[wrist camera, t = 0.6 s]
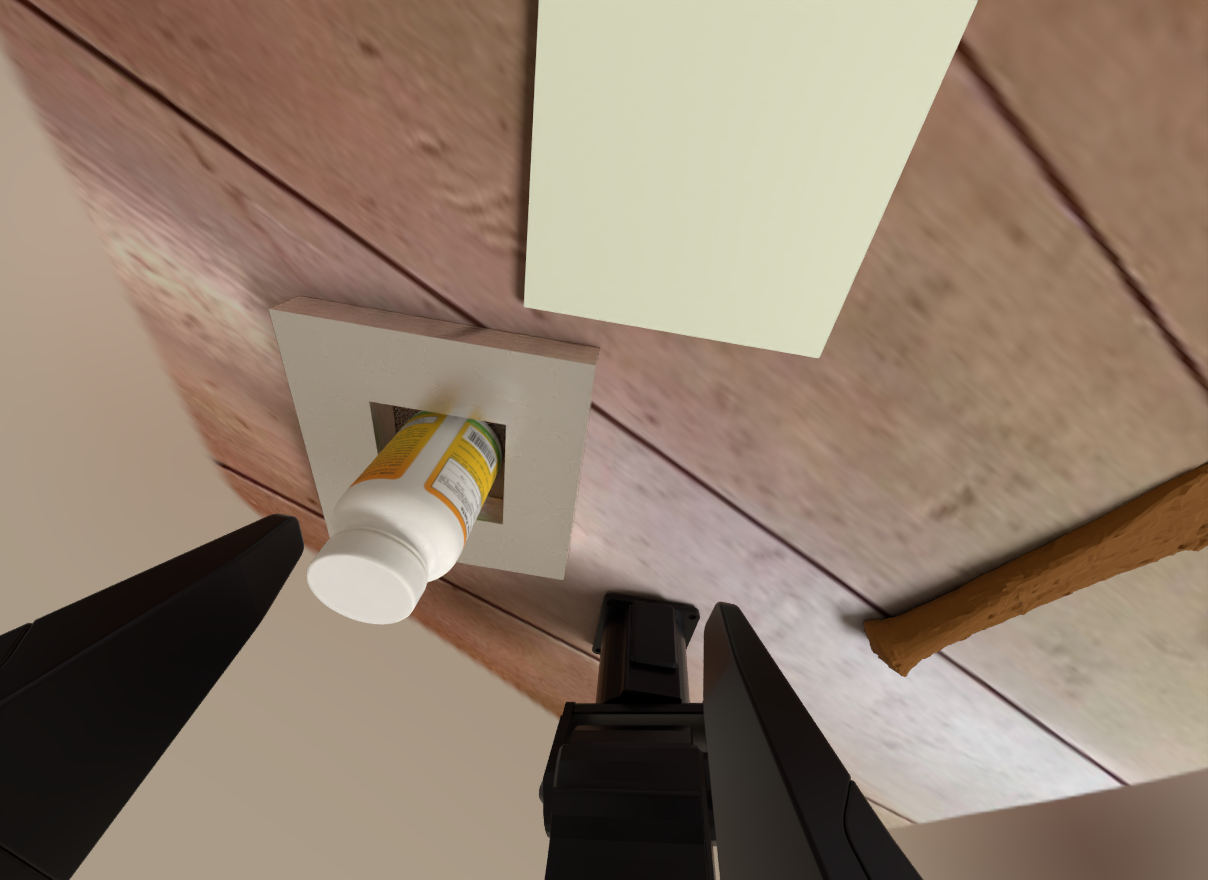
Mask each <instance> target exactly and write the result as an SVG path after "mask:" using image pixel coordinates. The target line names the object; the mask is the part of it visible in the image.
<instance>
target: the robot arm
mask: <svg viewBox="0 0 1208 880" xmlns="http://www.w3.org/2000/svg"><path fill="white" fill-rule="evenodd" d="M303 549H304V541H303V537H302V533H301V529H300V525H299V521H298V519H297V518H296V517H293V516H289V515H284V514H272V515H269V516H267V517H265V518H262V519H260V520H258V521H256V522H254V523H251V524H249V525H247V526H245V527H242V528H240V529H238V530H236V531H234V532H231V533H229V534H227V535H224V536H222V537H220V538H218V539H215V540H213V541H211V542H209V543H206V544H204V545H202V546H200V547H198V548H195V549H193V550H191V551H189V552H186V553H184V554H182V555H180V556H177V557H175V558H173V559H171V560H168V561H166V562H164V563H162V564H159V565H157V566H155V567H153V568H150V569H148V570H146V571H144V572H142V573H139V574H137V575H135V576H133V577H130V578H128V579H126V580H124V581H121V582H119V583H117V584H115V585H112V586H110V587H108V588H106V589H103V590H101V591H99V592H97V593H94V594H92V595H90V596H88V597H85V598H83V599H81V600H79V601H77V602H74V603H72V604H70V605H68V606H65V607H63V608H61V609H59V610H56V611H54V612H52V613H50V614H47V615H45V616H43V617H41V618H38V619H36V620H35V621H34V622H33V623H27V624H25V625H22V626H20V627H18V628H16V629H14V630H11V631H9V632H7V633H5V634H2V635H0V880H70V878H71V877H72V876H73V874H74V873H75V872H76V870H77V869H78V868H79V866H80V865H81V864H82V862H83V861H84V860H85V858H86V857H87V856H88V854H89V853H90V851H91V850H92V849H93V847H94V846H95V845H96V843H97V842H98V841H99V839H100V838H101V837H102V835H103V834H104V833H105V831H106V830H107V829H108V827H109V826H110V825H111V823H112V822H113V821H114V819H115V818H116V817H117V815H118V814H119V812H120V811H121V810H122V808H123V807H124V806H125V804H126V803H127V802H128V800H129V799H130V798H131V796H132V795H133V794H134V792H135V791H136V790H137V788H138V787H139V786H140V784H141V783H142V782H143V780H144V779H145V778H146V776H147V775H148V774H149V772H150V771H151V770H152V768H153V767H154V766H155V764H156V763H157V761H158V760H159V759H160V757H161V756H162V755H163V753H164V752H165V751H166V749H167V748H168V747H169V745H170V744H171V743H172V741H173V740H174V739H175V737H176V736H177V735H178V733H179V732H180V731H181V729H182V728H183V726H184V725H185V724H186V723H187V721H188V720H189V719H190V717H191V716H192V714H193V713H194V712H195V710H196V709H197V708H198V706H199V705H200V704H201V702H202V701H203V700H204V698H205V697H206V696H207V694H208V693H209V692H210V690H211V689H212V688H213V686H214V685H215V684H216V682H217V681H218V679H219V678H220V677H221V676H222V674H223V673H224V671H225V670H226V669H227V667H228V666H229V665H230V663H231V662H232V661H233V659H234V658H235V657H236V655H237V654H238V653H239V651H240V650H241V649H242V647H243V646H244V645H245V643H246V642H247V641H248V639H249V638H250V637H251V635H252V634H253V632H254V631H255V630H256V628H257V627H258V625H259V624H260V623H261V621H262V620H263V618H264V616H265V615H266V613H267V612H268V610H269V609H270V607H271V605H272V604H273V602H274V600H275V599H276V597H277V595H278V594H279V592H280V590H281V589H282V587H283V585H284V583H285V582H286V580H287V579H288V577H289V575H290V574H291V572H292V570H293V569H294V567H295V565H296V564H297V562H298V560H299V559H300V557H301V555H302V553H303ZM699 619H700V613H699V610H698V609H697V608H694V607H688V606H682V605H676V604H671V603H665V602H659V601H653V600H647V599H641V598H635V597H629V596H623V595H617V594H606V595H605V596H604V598H603V602H602V607H601V611H600V615H599V620H598V624H597V628H596V633H595V637H594V641H593V647H592V651H593V652H594V653H595V654H599V655H600V665H599V675H598V685H597V696H596V703H575V702H566V704H565V707H564V711H563V715H561V717H560V720H559V724H558V727H557V731H556V734H555V738H554V742H553V745H552V749H551V752H550V756H549V760H548V763H547V766H546V770H545V773H544V777H543V781H542V783H541V786H540V789H539V798H540V800H541V802H542V803H543V816H544V826H545V830H546V834H547V836H548V837H549V838H550V843H549V851H548V859H547V866H546V874H545V880H716V875H715V865H714V854H713V846H717V851H718V862H719V870H720V871H719V872H720V880H923V879H922V877H921V876H920V874H919V873H918V872H917V870H916V869H915V868H914V866H913V865H912V864H911V862H910V861H909V860H908V858H907V857H906V855H905V854H904V853H903V851H902V850H901V849H900V847H899V846H898V845H897V844H896V842H895V841H894V839H893V838H892V836H891V835H890V833H889V832H888V830H887V829H886V828H885V826H884V825H883V823H882V822H881V820H880V819H879V817H878V816H877V814H876V813H875V812H874V810H873V809H872V807H871V806H870V804H869V803H868V801H867V800H866V798H865V797H864V795H863V794H862V792H861V791H860V789H859V788H858V786H857V785H856V783H855V782H854V781H853V780H851V776H850V774H849V773H848V771H847V770H846V768H845V767H844V765H843V764H842V762H841V761H840V759H839V758H838V756H837V755H836V753H835V752H834V750H833V749H832V747H831V746H830V744H829V743H828V741H827V740H826V738H825V737H824V735H823V734H822V732H821V731H820V729H819V728H818V726H817V725H816V723H815V722H814V720H813V719H812V717H811V716H810V714H809V713H808V711H807V710H806V708H805V706H804V705H803V703H802V702H801V700H800V699H799V697H798V696H797V694H796V693H795V691H794V690H793V688H792V687H791V685H790V684H789V682H788V681H787V679H786V678H785V676H784V675H783V673H782V672H781V670H780V669H779V667H778V666H777V664H776V663H775V661H774V660H773V658H772V657H771V655H770V654H769V652H768V651H767V649H766V648H765V646H764V645H763V643H762V642H761V640H760V639H759V637H758V636H757V634H756V633H755V631H754V629H753V628H752V626H751V625H750V623H749V622H748V620H747V619H746V617H745V616H744V614H743V613H742V611H741V610H740V608H739V607H738V606H736V605H734V604H730V603H725V602H718V603H716V605H715V607H714V609H713V611H712V613H711V615H710V617H709V619H708V621H707V623H706V625H705V629H704V679H703V703H690V700H689V686H688V672H687V659H686V649H687V646H688V644H689V642H690V639H691V637H692V635H693V633H694V630H695V628H696V626H697V623H698V621H699Z"/></svg>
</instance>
